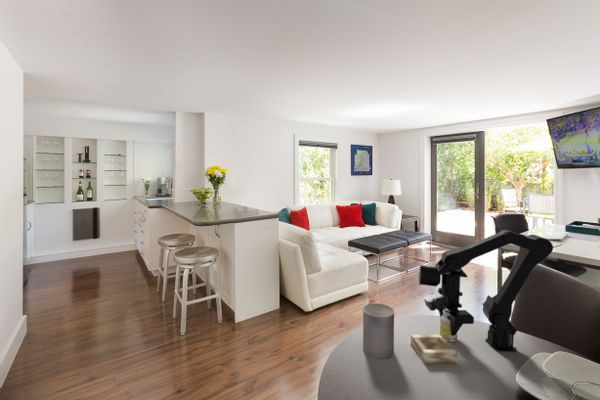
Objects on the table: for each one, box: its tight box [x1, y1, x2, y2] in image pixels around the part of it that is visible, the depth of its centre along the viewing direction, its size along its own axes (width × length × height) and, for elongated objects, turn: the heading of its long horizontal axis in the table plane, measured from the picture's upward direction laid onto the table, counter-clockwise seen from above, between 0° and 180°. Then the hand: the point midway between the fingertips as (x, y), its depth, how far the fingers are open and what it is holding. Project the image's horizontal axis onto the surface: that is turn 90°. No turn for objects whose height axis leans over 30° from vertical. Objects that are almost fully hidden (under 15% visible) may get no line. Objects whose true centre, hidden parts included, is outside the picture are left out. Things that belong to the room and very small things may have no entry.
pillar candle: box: [362, 302, 395, 360], centre depth 94 cm, size 10×10×15 cm
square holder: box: [410, 334, 458, 364], centre depth 93 cm, size 10×10×3 cm
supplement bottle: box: [439, 309, 458, 343], centre depth 102 cm, size 5×5×10 cm
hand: (448, 331), depth 102 cm, fingers closed on supplement bottle, 5 cm apart
